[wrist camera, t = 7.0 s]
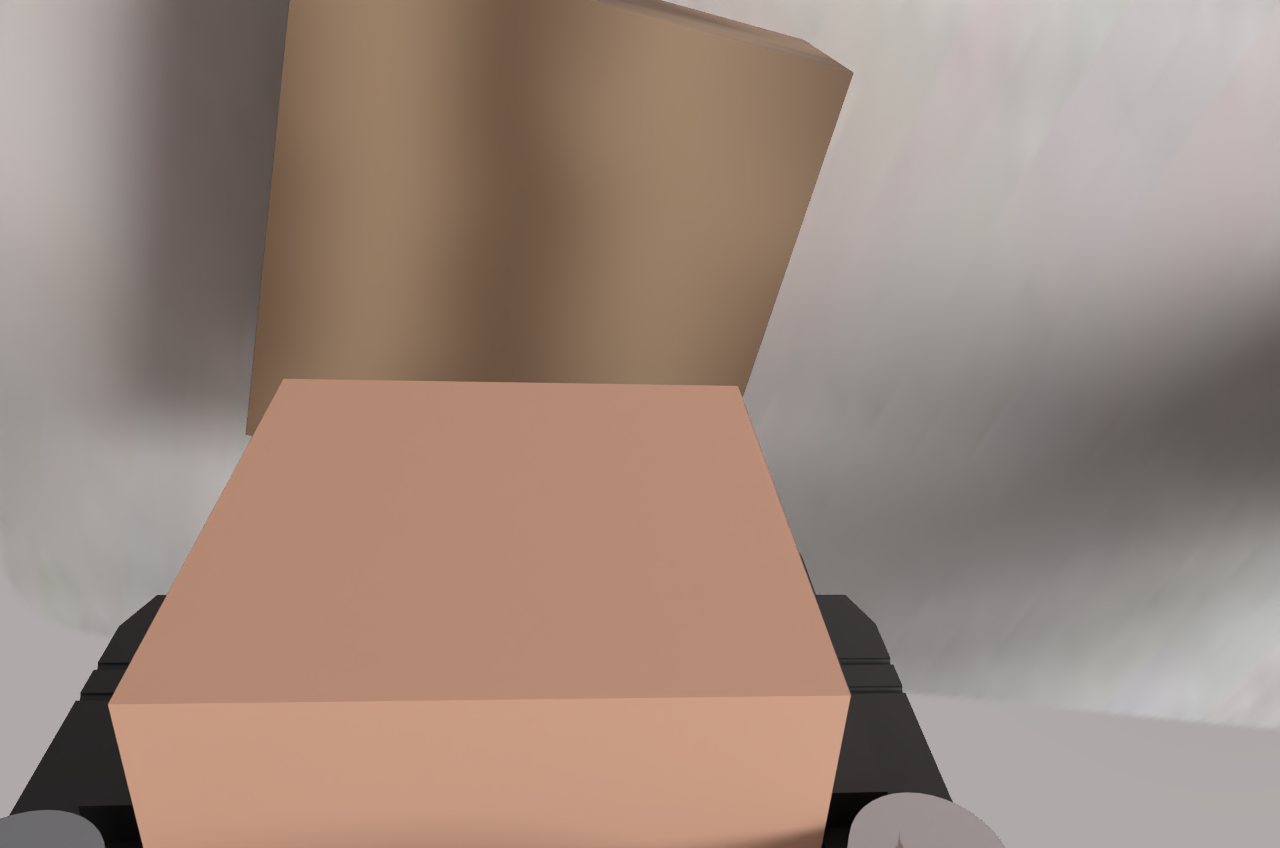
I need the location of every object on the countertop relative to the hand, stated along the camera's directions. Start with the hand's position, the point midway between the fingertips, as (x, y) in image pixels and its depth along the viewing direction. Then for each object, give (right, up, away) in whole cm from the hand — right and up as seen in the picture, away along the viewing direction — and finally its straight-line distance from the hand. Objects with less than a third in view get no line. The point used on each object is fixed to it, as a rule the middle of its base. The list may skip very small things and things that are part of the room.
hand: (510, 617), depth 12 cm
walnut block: (-1, +8, +15) cm, 17 cm away
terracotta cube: (0, 0, +1) cm, 1 cm away
